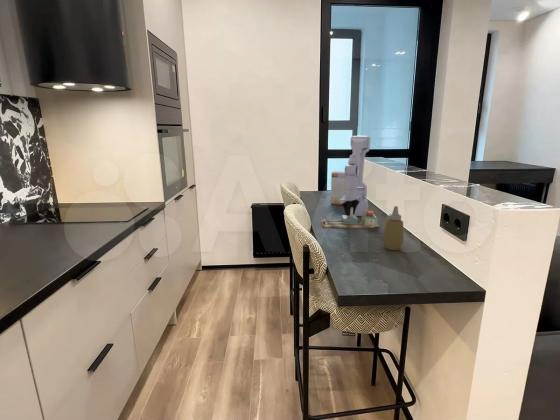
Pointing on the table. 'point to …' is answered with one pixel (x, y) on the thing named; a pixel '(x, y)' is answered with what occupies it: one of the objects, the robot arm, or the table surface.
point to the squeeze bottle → (394, 231)
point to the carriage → (350, 218)
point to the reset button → (369, 213)
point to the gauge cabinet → (369, 220)
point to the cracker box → (337, 187)
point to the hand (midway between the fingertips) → (349, 214)
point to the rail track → (340, 224)
